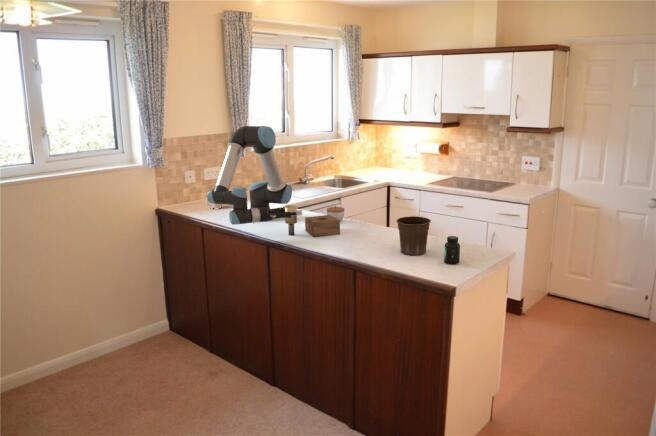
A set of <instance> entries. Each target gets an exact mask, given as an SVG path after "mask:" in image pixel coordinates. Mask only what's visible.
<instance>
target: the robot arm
mask: <svg viewBox="0 0 656 436" xmlns="http://www.w3.org/2000/svg"><path fill="white" fill-rule="evenodd" d="M276 140H277V139H276V134H275V131H274V130H273V128H272V127H271V126H267V125H266V126H265V125H260V126H257V125H255V126H254V125H243V126H240V127H239V128H237V129H236V130H234V132H233V133H232V134H231V136H230V137H229V139H228V142H227V145H226V147H227V150H226V153H225V155H224V156H225V157H224V159H223V163H222V165H221V168H220V170H219V174H218V177H217V179H216V182H215V185H214V189H209V191H208V192H207V193H206V194H207V195H206V199H207V202H208V203H212V204H222V205H227V206H228V205H229V206H232V209H233V210H232V209H231V210H229V213H228V214H229V216H228V217H229V223H230V224H231V225H245V224H255V223H259V222H260V223H264V222H267V221H271V220H275V219H285V218H291V216H303V209H297V211H290V212H285V206H283V207H282V206H281V207H276V208H271V207H270V204H277V205H279V204H280V205H287V204H289V202H291V200H292V195H293V188H292V185H291V184H287V181H286V180H285V179H284V178H283V177H282V175H281V174H282V173H281V172H280V169H279V165H278V162H277V159H276V156H275V153H274V150H273V149H274V148H275V145H276ZM246 148H253V152H254V153H255V154H258V157H259V160H260V163H261V166H262V169H263V171H264V175H265V178H266V180H263V181H262V180H261V181H255V182H252V183H251V184H249V190H248V191H249V205H250V207H249V208H248V193H247V188H246V187H243V186H236V187H235V186H234V187H232V189H231V190H230V188H231V186H232V185H231V184H232V183H233V182H232V181H233V179H234V175H235V172H236V169H237V166H238V163H239V160H240V157H241V154H242V153H244V151H245V149H246Z"/></svg>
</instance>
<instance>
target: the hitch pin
mask: <svg viewBox="0 0 656 436" xmlns="http://www.w3.org/2000/svg"><path fill="white" fill-rule="evenodd" d="M284 207H285V212H290V211H297V210H298V208H297V207H298V206H297V205H293V204H290V205H289V204H288V205H285V206H284ZM284 220H285V221H284V222H285V224H287V225H288V227H287V228H288V230H287V231H288V236H295V224H297V222H298V217H297V216H291V218H284Z"/></svg>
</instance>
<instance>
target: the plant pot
mask: <svg viewBox="0 0 656 436" xmlns="http://www.w3.org/2000/svg"><path fill="white" fill-rule="evenodd" d="M431 222H432V221H431V219H430V218H428V217H424V216H410V215H409V216H403V217H399V218H397V219H396V223H397V229H398V233H399V244H400V253H402V254H404V255H405V256H408V255H409V256H410V257H411V256H412V257H413V256H414V257H415V256H416V257H418V256H422V255H424V254H426V252H427V244H428V235H429V229H430V226H431V225H430V224H431Z"/></svg>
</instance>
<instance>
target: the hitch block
mask: <svg viewBox="0 0 656 436" xmlns="http://www.w3.org/2000/svg"><path fill="white" fill-rule="evenodd" d="M304 226H305V227H304V229H305V230H304V231H305V232H306V233H308V234H309V235H310V236H312V237H313V238H322V237H324V238H325V237H332V236H337V235H338V236H339V235H341V222H340V220H338V219H336V218H335V217H333V216H331V215H327V214H324V215H315V216H314V215H313V216H305V217H304Z"/></svg>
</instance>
